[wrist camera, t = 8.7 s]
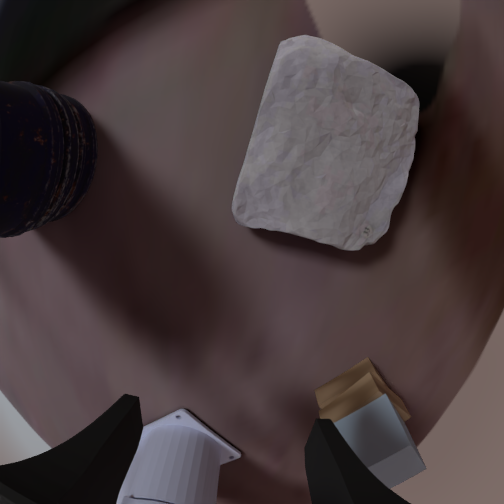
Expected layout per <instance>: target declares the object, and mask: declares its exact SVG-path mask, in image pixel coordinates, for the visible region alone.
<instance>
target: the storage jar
mask: <svg viewBox="0 0 504 504" xmlns="http://www.w3.org/2000/svg"><path fill="white" fill-rule="evenodd" d="M96 161H97V136H96V131H95V127H94V124H93V121H92V119H91V116H90V115H89V113H88V112H87V110H86V109H85V108H84V106H83V105H82V104H81V103H80V102H78V101H77V100H75V99H74V98H71V97H69V96H66V95H62V94H59V93H57V92H56V91H54V90H52V89H49V88H46V87H43V86H40V85H34V84H32V83H29V82H20V81H13V82H8V83H7V82H3V81H0V237H2V238H6V237H14V236H18V235H21V234H23V233H24V232H26V231H30V230H33V229H36V228H38V227H40V226H42V225H44V224H46V223H47V222H50V221H54V220H58V219H60V218H62V217H64V216H66V215H67V214H69V213H70V212H71V211H73V210H74V209H75V208H76V207H77V206H78V204H79V203H80V202H81V200H82V199H83V198H84V196H85V194H86V192H87V191H88V189H89V186H90V184H91V181H92V179H93V175H94V172H95V168H96Z"/></svg>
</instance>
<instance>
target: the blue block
mask: <svg viewBox="0 0 504 504" xmlns="http://www.w3.org/2000/svg"><path fill="white" fill-rule="evenodd" d="M334 424H335V426H336V427H337V429H338V430H339V432H340V433H341V435H342V436H343V438H344V439H345V440H346V442H347V443H348V445H349V446H350V447H351V449H352V450H353V451H354V452H355V454H356V455H357V456H358V458H359V459H360V460H361V461H362V462H363V463H364V465H365V466H366V467H367V468H368V469H369V470H370V471H371V472H372V473H373V474H374V475H375V476H376V477H377V478H378V479H379V480H380V481H381V482H382V483H383V484H384V485H386V486H387V487H388V488H389V489H390V488H392V487H394V486H396V485H398V484H400V483H402V482H404V481H405V480H407V479H409V478H411V477H413V476H415V475H416V474H418V473H420V472H421V471H423V470H425V469H426V466H425V464H424V462H423V460H422V458H421V456H420V454H419V452H418V449H417V447H416V445H415V443H414V441H413V439H412V437H411V435H410V433H409V431H408V429H407V427H406V425H405V423H404V421H403V420H402V418H401V417H400V415H399V413H398V412H397V410H396V409H395V407H394V405H393V404H392V402H391V401H390V399H389V398H388V396H387V395H386V394H384V395H382V396H381V397H379V398H377V399H376V400H374V401H372V402H371V403H369V404H367V405H366V406H364V407H362V408H360V409H359V410H357V411H355V412H353V413H352V414H350V415H348V416H346V417H344V418H342V419H340V420H339V421H337V422H335V423H334Z"/></svg>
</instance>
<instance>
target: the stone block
mask: <svg viewBox="0 0 504 504" xmlns="http://www.w3.org/2000/svg"><path fill="white" fill-rule="evenodd" d="M418 116H419V99H418V97H417V95H416V94H415V93H414V91H413V90H412V89H411V87H410V86H409V85H408V84H406V83H405V82H404V81H402V80H400V79H398V78H396V77H394V76H393V75H392V74H390V73H388V72H387V71H385V70H384V69H382V68H380V67H378V66H377V65H375V64H373V63H371V62H369V61H367V60H363V59H361V58H358V57H356V56H353V55H351V54H350V53H348V52H347V51H345V50H344V49H342V48H340V47H338V46H336V45H334V44H332V43H331V42H328V41H326V40H323V39H320V38H317V37H312V36H308V35H303V36H296V37H293V38H289V39H287V40H285V41H281V42H280V44H279V47H278V50H277V54H276V57H275V60H274V63H273V66H272V68H271V71H270V75H269V78H268V81H267V84H266V87H265V90H264V94H263V97H262V101H261V104H260V108H259V111H258V115H257V119H256V122H255V126H254V130H253V133H252V136H251V140H250V143H249V146H248V149H247V153H246V157H245V160H244V164H243V167H242V170H241V173H240V176H239V179H238V182H237V186H236V190H235V193H234V197H233V202H232V211H233V216H234V218H235V220H236V222H237V223H238V224H240V225H242V226H246V227H250V228H264V229H267V230H270V231H280V232H285V233H290V234H294V235H297V236H301V237H304V238H308V239H311V240H315V241H317V242H319V243H324V244H328V245H332V246H334V247H336V248H338V249H342V250H351V251H354V250H360V249H361V248H362V247H363V246H364V245H370V244H374V243H375V242H376V241H377V240H378V239H379V238H380V237H382V236H383V235H384V234H385V233H386V232H387V230H388V228H389V224H390V216H391V213H392V211H393V208H394V207H395V206H396V205H397V204H398V203H399V201H400V199H401V197H402V194H403V191H404V189H405V187H406V183H407V179H408V175H409V174H408V171H409V169H410V167H411V164H412V161H413V159H414V151H415V134H416V132H417V131H418Z"/></svg>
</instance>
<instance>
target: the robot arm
mask: <svg viewBox="0 0 504 504" xmlns="http://www.w3.org/2000/svg"><path fill="white" fill-rule="evenodd" d="M177 415H179V416H177ZM180 416H181V417H180ZM240 457H241V452H240V451H238V450H237V449H236V448H234V447H233V446H231V445H230V444H229V443H227V442H226V441H225V440H223V439H222V438H221V437H219V436H218V435H217V434H216V433H214V432H213V431H212V430H210V429H209V428H208V427H207V426H205V425H204V424H203V423H202V422H200V421H199V420H198V419H197V418H196V417H194V416H193V415H192V414H191V413H190V412H188V411H187V410H185V409H179V410H177V411H175V412H173V413H171V414H169V415H167V416H165V417H163V418H161V419H159V420H157V421H155V422H153V423H150V424H148V425H146V426H144V427H143V424H142V416H141V409H140V401H139V397H137V396H133V395H129V394H124V395H123V396H122V397H121V398H120V399H118V400H117V401H116V402H115V403H114V404H113V405H112V406H111V407H110V408H109V409H108V410H107V411H105V412H104V413H103V414H102V415H101V416H100V417H98V418H97V419H96V420H95V421H94V422H92V423H91V424H90V425H89V426H87V427H86V428H85V429H83V430H82V431H80V432H79V433H78V434H76V435H75V436H73V437H72V438H70V439H69V440H67V441H65V442H64V443H62V444H60V445H58V446H56V447H54V448H52V449H50V450H48V451H46V452H44V453H42V454H39V455H37V456H34V457H31V458H28V459H25V460H22V461H19V462H15V463H10V464H5V465H0V504H216V499H217V490H218V480H219V471H220V465H222V464H225V463H227V462H230V461H233V460H235V459H238V458H240ZM305 468H306V474H307V480H308V485H309V490H310V495H311V501H312V504H411V503H409V502H407V501H406V500H404V499H403V498H401V497H400V496H399V495H397V494H396V493H394V492H393V491H392V490H390V489H389V488H388V487H387V486H386V485H384V484H383V483H382V482H381V481H380V480H379V479H378V478H377V477H376V476H375V475H374V474H373V473H372V472H371V471H370V470H369V469H368V468H367V467H366V466H365V465H364V463H363V462H362V461H361V460H360V459H359V458H358V456H357V455H356V454H355V452H354V451H353V450H352V449H351V447H350V446H349V445H348V443H347V442H346V440H345V439H344V438H343V436H342V435H341V433H340V432H339V430H338V429H337V427H336V426H335V424H334V423H333V422H332V420H331V419H316V420H315V423H314V426H313V428H312V431H311V433H310V436H309V438H308V441H307V443H306V446H305Z"/></svg>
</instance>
